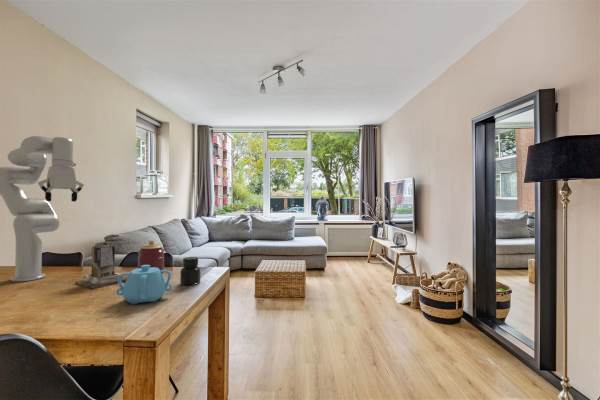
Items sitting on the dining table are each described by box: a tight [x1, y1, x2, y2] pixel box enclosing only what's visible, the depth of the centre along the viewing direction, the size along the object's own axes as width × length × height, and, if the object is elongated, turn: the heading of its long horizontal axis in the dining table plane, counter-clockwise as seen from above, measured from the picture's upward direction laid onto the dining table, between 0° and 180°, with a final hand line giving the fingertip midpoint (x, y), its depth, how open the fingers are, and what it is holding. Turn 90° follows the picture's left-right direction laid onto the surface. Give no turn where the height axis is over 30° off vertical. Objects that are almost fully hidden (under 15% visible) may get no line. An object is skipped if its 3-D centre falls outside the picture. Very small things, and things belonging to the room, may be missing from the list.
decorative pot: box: [115, 265, 173, 305], centre depth 116 cm, size 16×16×14 cm
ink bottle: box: [179, 256, 201, 286], centre depth 140 cm, size 10×9×12 cm
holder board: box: [75, 272, 128, 290], centre depth 140 cm, size 16×16×4 cm
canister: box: [137, 240, 165, 271], centre depth 159 cm, size 13×13×18 cm
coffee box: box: [91, 244, 116, 278], centre depth 140 cm, size 9×6×16 cm
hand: (61, 201), depth 136 cm, fingers open, 9 cm apart
